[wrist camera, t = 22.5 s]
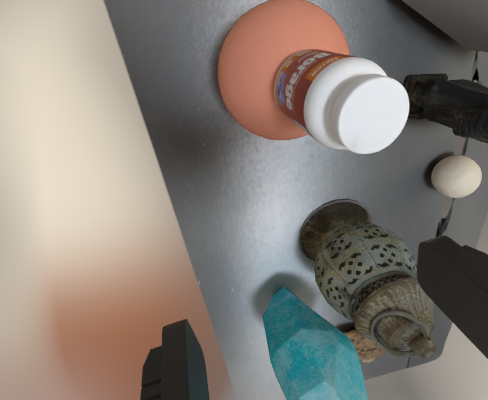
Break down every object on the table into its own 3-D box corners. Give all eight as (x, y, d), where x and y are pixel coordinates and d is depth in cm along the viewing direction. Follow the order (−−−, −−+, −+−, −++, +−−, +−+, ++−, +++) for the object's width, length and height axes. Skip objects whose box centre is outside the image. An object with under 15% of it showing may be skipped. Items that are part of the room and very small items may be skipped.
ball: (213, 123, 44) (232, 165, 31) (205, 3, 37) (225, -8, 24) (310, 116, 46) (365, 152, 33) (319, 1, 39) (393, -9, 26)
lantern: (325, 274, 62) (407, 407, 41) (278, 236, 55) (348, 371, 34) (382, 226, 59) (504, 342, 38) (341, 180, 52) (461, 289, 31)
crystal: (284, 251, 57) (378, 437, 31) (325, 286, 64) (431, 465, 38) (234, 292, 59) (285, 497, 34) (279, 322, 66) (350, 513, 40)
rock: (380, 343, 77) (393, 362, 73) (338, 358, 77) (349, 378, 72) (379, 307, 70) (392, 325, 66) (333, 323, 70) (343, 343, 66)
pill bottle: (298, 32, 26) (373, 37, 17) (350, 72, 29) (441, 96, 19) (258, 100, 28) (306, 139, 19) (310, 132, 31) (376, 180, 21)
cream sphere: (435, 194, 58) (464, 213, 52) (416, 172, 55) (445, 189, 49) (466, 167, 57) (499, 183, 51) (448, 142, 53) (482, 156, 47)
